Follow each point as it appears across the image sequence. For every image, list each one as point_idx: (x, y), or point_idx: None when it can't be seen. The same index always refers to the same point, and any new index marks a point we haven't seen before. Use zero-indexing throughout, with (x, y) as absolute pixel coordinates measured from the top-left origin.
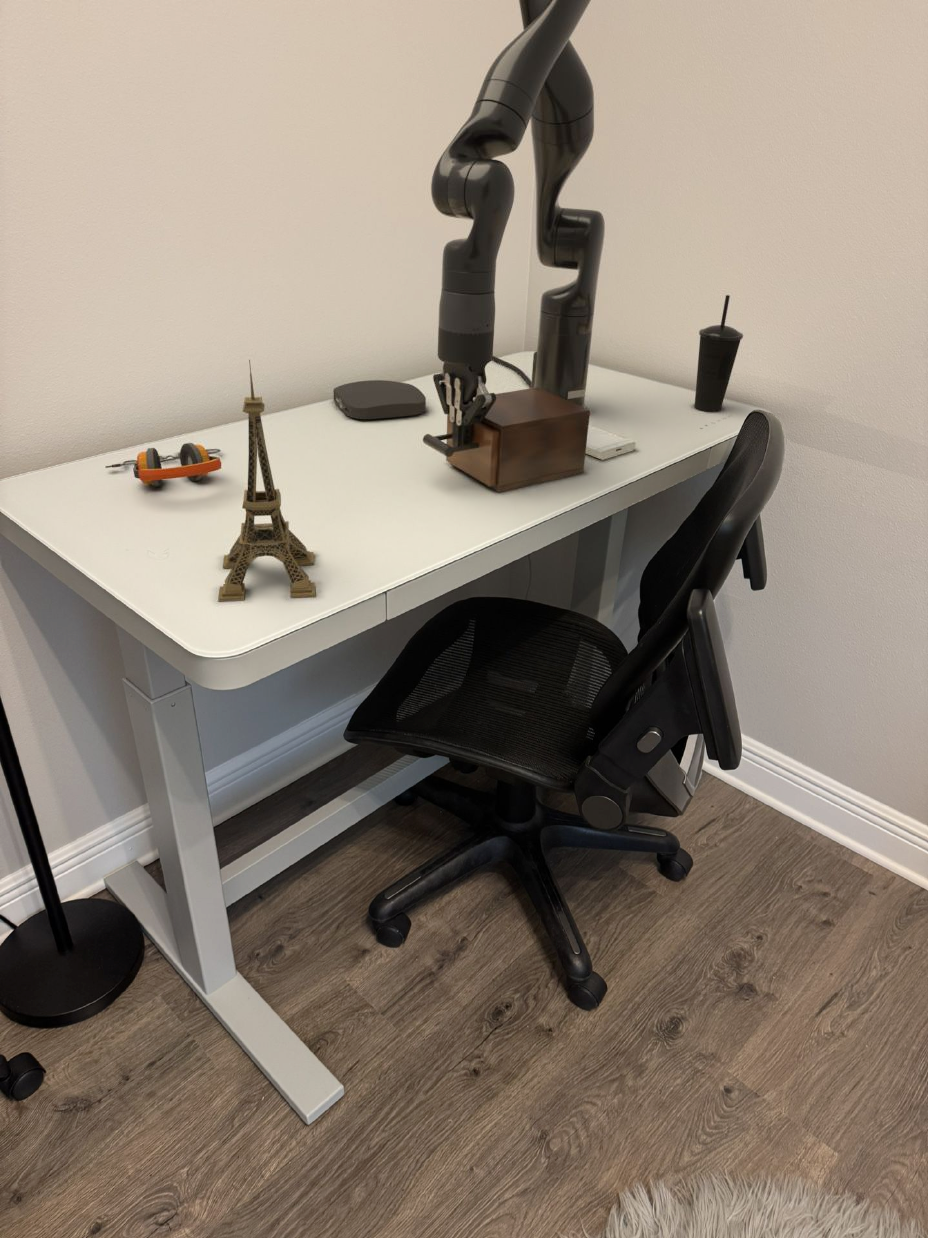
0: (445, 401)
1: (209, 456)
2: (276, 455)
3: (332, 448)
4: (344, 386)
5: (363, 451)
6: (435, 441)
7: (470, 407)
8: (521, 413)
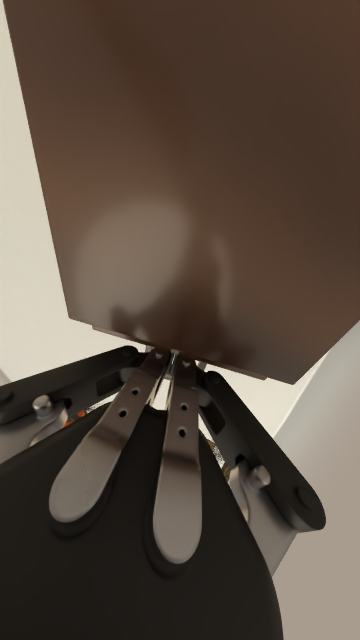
0: (113, 393)
1: (73, 420)
2: (56, 365)
3: (51, 331)
4: None
5: (66, 318)
6: (168, 379)
7: (219, 448)
8: (300, 253)
